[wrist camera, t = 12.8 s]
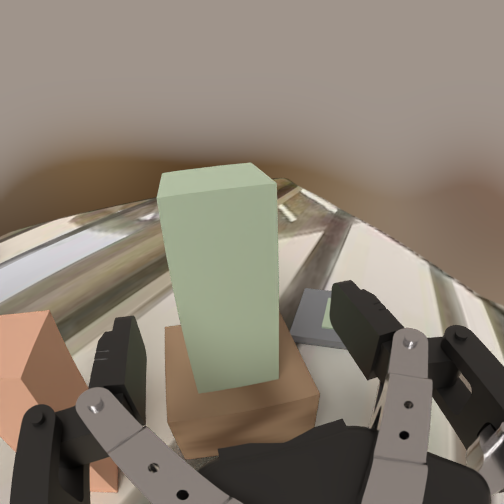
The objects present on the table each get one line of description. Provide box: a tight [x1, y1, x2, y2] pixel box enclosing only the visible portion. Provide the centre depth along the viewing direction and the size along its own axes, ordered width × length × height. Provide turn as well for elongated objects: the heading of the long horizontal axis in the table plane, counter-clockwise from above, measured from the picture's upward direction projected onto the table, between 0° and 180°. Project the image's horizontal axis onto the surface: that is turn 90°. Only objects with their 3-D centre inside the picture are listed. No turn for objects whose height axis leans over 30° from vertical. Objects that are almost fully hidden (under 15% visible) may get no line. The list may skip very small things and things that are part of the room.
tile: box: [290, 288, 347, 349], centre depth 31 cm, size 8×8×1 cm
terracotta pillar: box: [0, 310, 118, 492], centre depth 14 cm, size 5×5×12 cm
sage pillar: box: [157, 163, 279, 394], centre depth 18 cm, size 5×5×12 cm
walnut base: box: [165, 311, 320, 460], centre depth 22 cm, size 9×9×5 cm
